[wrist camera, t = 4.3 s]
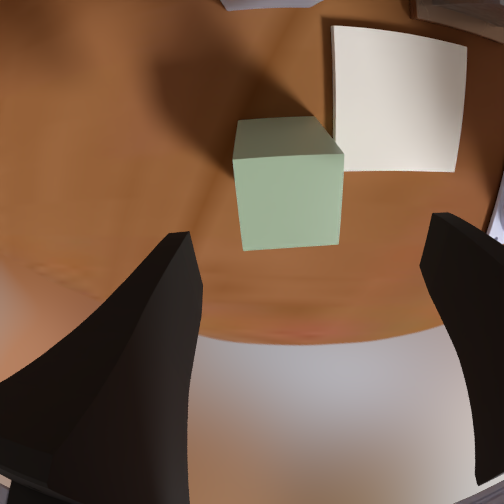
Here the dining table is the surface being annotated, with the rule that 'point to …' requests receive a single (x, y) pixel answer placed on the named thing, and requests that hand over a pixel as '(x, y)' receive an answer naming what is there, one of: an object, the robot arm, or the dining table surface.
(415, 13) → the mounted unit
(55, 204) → the dining table surface
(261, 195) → the sage part
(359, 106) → the plate
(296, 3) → the blue-grey part
